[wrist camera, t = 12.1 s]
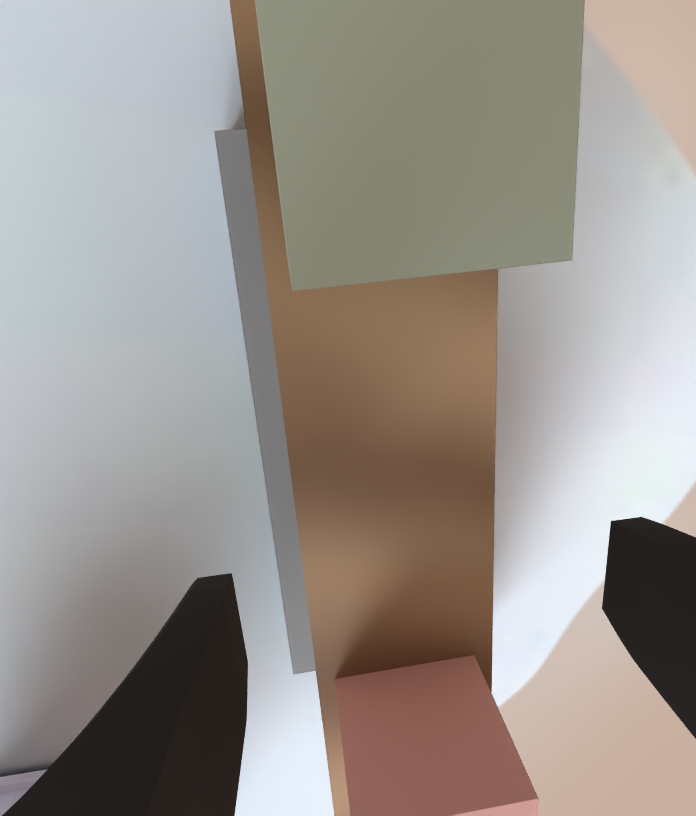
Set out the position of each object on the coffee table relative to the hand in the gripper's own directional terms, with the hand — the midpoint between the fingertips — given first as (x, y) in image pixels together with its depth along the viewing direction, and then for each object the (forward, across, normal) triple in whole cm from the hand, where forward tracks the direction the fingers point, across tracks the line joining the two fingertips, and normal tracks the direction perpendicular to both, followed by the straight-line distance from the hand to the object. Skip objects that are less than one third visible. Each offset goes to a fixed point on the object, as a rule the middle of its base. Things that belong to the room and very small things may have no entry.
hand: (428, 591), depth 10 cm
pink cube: (+3, 0, +7) cm, 8 cm away
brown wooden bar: (+7, 0, 0) cm, 7 cm away
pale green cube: (+3, 0, -8) cm, 9 cm away
